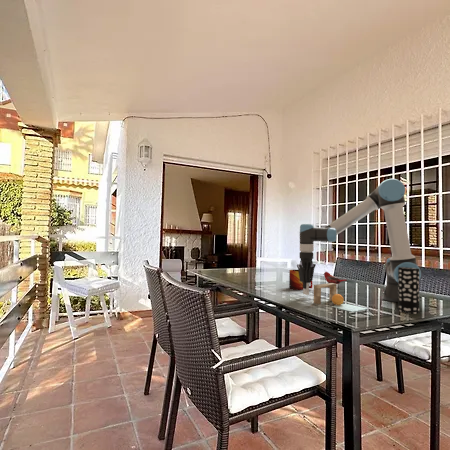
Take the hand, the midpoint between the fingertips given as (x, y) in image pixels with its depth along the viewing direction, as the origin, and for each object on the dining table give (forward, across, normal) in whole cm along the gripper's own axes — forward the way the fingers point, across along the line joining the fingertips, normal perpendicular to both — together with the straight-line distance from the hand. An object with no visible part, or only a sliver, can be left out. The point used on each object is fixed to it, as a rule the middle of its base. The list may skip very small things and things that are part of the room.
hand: (306, 294), depth 168 cm
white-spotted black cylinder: (+2, -19, +45) cm, 49 cm away
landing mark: (+2, 0, +27) cm, 27 cm away
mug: (+2, -19, -22) cm, 30 cm away
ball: (-1, 0, +21) cm, 21 cm away
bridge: (+2, 0, +13) cm, 13 cm away
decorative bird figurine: (+2, -46, -16) cm, 49 cm away
